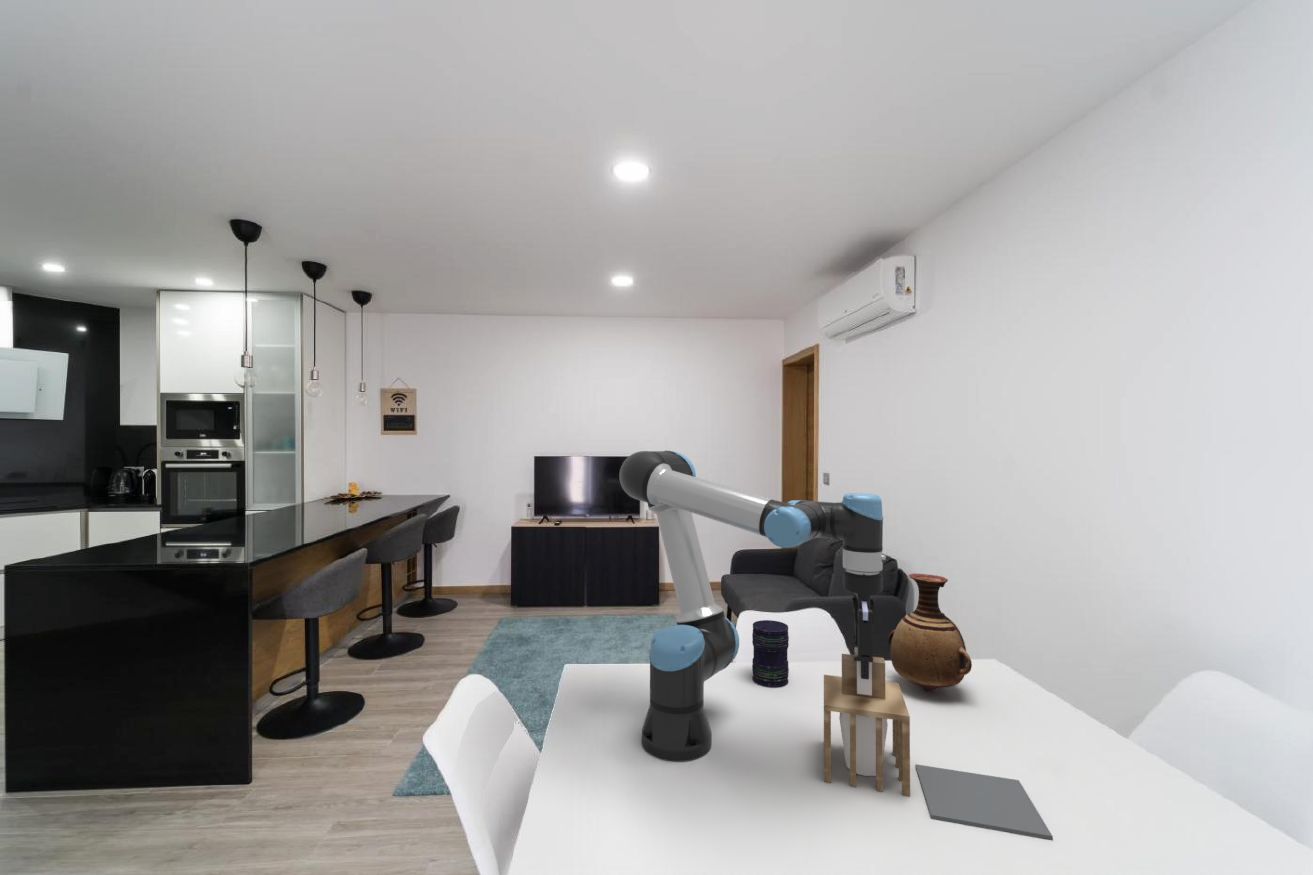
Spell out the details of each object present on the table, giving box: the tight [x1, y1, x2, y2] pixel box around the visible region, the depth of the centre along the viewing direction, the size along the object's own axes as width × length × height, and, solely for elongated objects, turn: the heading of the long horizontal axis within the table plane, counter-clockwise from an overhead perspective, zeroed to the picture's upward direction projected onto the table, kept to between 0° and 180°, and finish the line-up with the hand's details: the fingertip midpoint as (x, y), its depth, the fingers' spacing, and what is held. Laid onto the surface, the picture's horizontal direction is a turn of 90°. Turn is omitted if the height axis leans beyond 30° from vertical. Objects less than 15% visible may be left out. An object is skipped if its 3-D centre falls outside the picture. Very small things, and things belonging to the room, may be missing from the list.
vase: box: [887, 573, 973, 692], centre depth 146 cm, size 21×18×30 cm
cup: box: [838, 712, 889, 777], centre depth 110 cm, size 9×9×12 cm
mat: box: [914, 763, 1053, 841], centre depth 100 cm, size 18×16×1 cm
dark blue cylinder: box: [751, 619, 790, 689], centre depth 152 cm, size 10×10×15 cm
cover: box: [823, 653, 911, 797], centre depth 110 cm, size 15×15×22 cm
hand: (863, 686), depth 110 cm, fingers open, 6 cm apart
